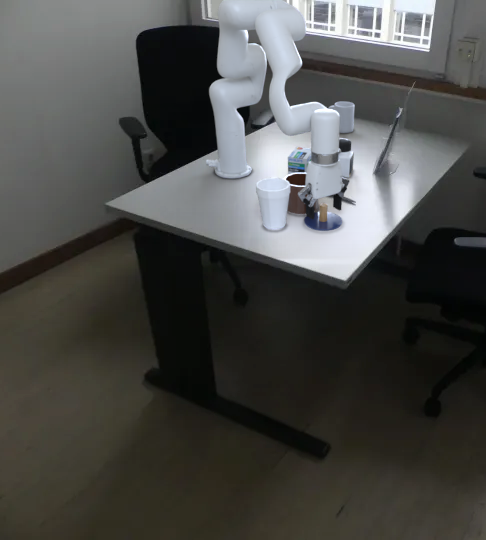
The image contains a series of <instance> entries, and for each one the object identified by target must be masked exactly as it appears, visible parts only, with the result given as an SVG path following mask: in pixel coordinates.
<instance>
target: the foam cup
mask: <svg viewBox="0 0 486 540" xmlns="http://www.w3.org/2000/svg"><path fill="white" fill-rule="evenodd" d="M255 192H256V195H257V199H258V200H257V201H258V205H259V209H260V210H259V211H260V215H261V221H262V225H263V227H264V228H266V229H267V230H281V229H282V228H284V227H285V226H286V224H287V217H288V211H287V210H288V202H289V194H290V183H289V181H287V180H285V179H284V178H282V177H266V178H262V179H259V180H257V182H256V183H255Z"/></svg>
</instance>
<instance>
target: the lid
mask: <svg viewBox="0 0 486 540" xmlns="http://www.w3.org/2000/svg"><path fill="white" fill-rule="evenodd" d="M328 207H329V205H328V204H327V203H326V202H321V203H318V211H315V218H314V219H311V218H309V217H308V216H307V215H305V217H304V219H303V223H304V225H305V227H307V228H309V229H312V230H315V231H319V232H320V231H321V232H328V231H334V230H336V229H338V228H340V227H341V226H342V224H343V218H342V217H341V216H340V215H339V214H337V213H334V212H331V211H328V209H329V208H328Z"/></svg>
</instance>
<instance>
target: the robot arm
mask: <svg viewBox="0 0 486 540" xmlns="http://www.w3.org/2000/svg"><path fill="white" fill-rule="evenodd" d="M217 20H218V26H219V28H218V29H219V37H218V44H217V45H218V47H217V55H216V57H217V58H216V68H217V73H218V74H219V76H221V78H219V79H217V80H215V81H213V82H212V83H211V85H210V86H209V87H208V95H209V100H210V104H211V107H212V111H213V116H214V125H215V137H216V146H217V147H216V148H217V157H218V158H216V159H206V160H205V162H206V163H205V164H206V166H208V168H214V173H215V175H217V176H218V177H220V178H223V179H242V178H244V177H247V176H249V175H250V174H251V173H252V170H253V169H252V166H251V165H250V164H248V163H247V148H246V147H247V146H246V133H245V131H246V130H245V122H244V118H243V117H242V115H241V114H240V113H239V112H238V110H237V109H240V108H244V107H249V106H253V105H256V104H258V103H259V102H260V101H261V100H262V96H263V92H264V85H265V81H266V76H267V75H266V73H267V68H268V67H267V65H269V67H270V70H271V72H272V77H271V81H270V84H269V90H268V101H269V108H270V111H271V113H272V116H273V118H274V121H275V123H276V125H277V127H278V129H279V130H280V131H281V133H283V134H284V135H285V136H288V137H293V136H298V135H301V134H305V133H310V148H311V161H309V163H308V166H307V172H306V181H305V187H304V188H303V189H302V190H301V191H300V192H298V196H299V198H300V200H301V201H302V202H303V203H304V204H306V214H305V216H308V217H309V218H311V219H314V218H315V212H316V211H315V207H314V206H313V204H314V203H315V201H316V199H318V200H320V199H322V198H326V197H329V196H333V197H332V207H333V209H336V210H338V211H342V204H343V198H344V196H345V193H346V192H347V190H348V187H349V184H350V179H348V178H347V177H342V171H341V163H340V160H339V154H340V153H341V149H339V139H340V133H339V126H340V117H339V114H338V112H336V111H335V110H332V109H328V108H327V106H325V105H324V104H322V103H320V102H318V101H310V102H305V103H300V104H296V105H291V106H290V104H289V101H288V100H287V97H286V91H285V86H286V82H287V80H288V79H289V78H291V77H292V76H293V75H295V74H296V73H297V72H298V71H299V70H300V69H301V68H302V66H303V61H302V58H301V56H300V54H299V51H298V49H297V46H296V44H295V42H298V41H299V42H300V41H301V40H303V39H304V38H305V36H306V34H307V21H306V19H305V17H304V15H303V13H302V12H301V11H300V9H298V8H297V7H295V5H292V4H291V3H288V2H286V1H285V0H222V1H220V3H219V5H218V9H217ZM254 30H255V32H256V35H257V37H258V40H259V42H260V44H257V43H255V42H253V43H249V33H248V32H249V31H254ZM306 194H308V195H307V197H305V195H306ZM311 197H312V199H311ZM310 199H311V201H310Z"/></svg>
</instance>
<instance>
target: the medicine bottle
mask: <svg viewBox="0 0 486 540" xmlns="http://www.w3.org/2000/svg"><path fill="white" fill-rule="evenodd" d="M339 149H341V153H340V154H339V160H340V163H341V171H342V177H343V178H350V177H351V176H352V172H353V171H354V155H355V152H354V150H352V140H350V139H348V138H343V137H339Z"/></svg>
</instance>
